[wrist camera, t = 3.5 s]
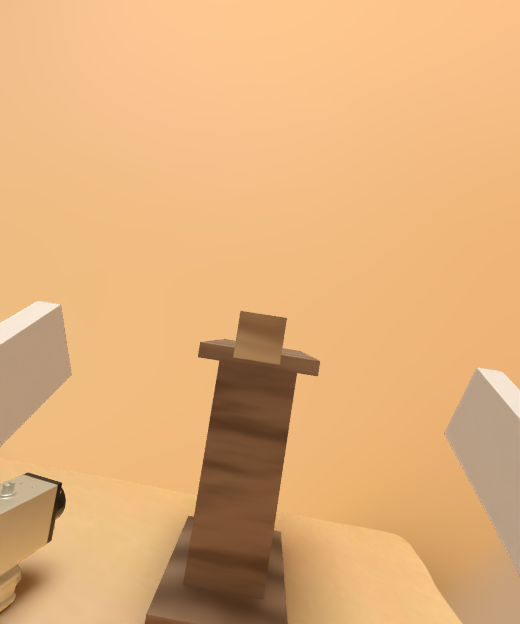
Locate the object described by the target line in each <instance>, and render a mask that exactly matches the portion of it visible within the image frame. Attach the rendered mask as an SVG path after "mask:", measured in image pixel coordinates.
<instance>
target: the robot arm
mask: <svg viewBox="0 0 520 624" xmlns="http://www.w3.org/2000/svg"><path fill="white" fill-rule="evenodd" d="M70 376H71V367H70V361H69V354H68V348H67V341H66V335H65V328H64V321H63V315H62V308H61V305H60V304H54V303H47V302H41V301H37V302H35V303H33V304H32V305H30V306H28V307H27V308H25V309H23V310H21V311H20V312H18V313H16V314H15V315H13V316H11V317H10V318H8V319H6V320H4V321H3V322H1V323H0V447H1V446H2V445H3V443H5V441H6V440H8V438H10V436H11V435H12V434H14V432H15V431H16V430H17V429H18V428H19V427H20V426H21V425H22V424H23V423H24V422H25V421H26V420H27V419H28V418H29V417H30V416H31V415H32V414H33V413H34V412H35V411H36V410H37V409H38V408H39V407H40V406H41V405H42V404H43V403H44V402H45V401H46V400H47V399H48V398H49V397H50V396H51V395H52V394H53V393H54V392H55V391H56V390H57V389H58V388H59V387H60V386H61V385H62V384H63V383H64V382H65V381H66V380H67V379H68V378H69V377H70ZM444 434H445V436H446V438H447V439H448V441H449V443H450V445H451V447H452V449H453V451H454V453H455V455H456V456H457V458H458V460H459V462H460V464H461V466H462V468H463V469H464V471H465V473H466V475H467V477H468V479H469V481H470V483H471V485H472V487H473V488H474V490H475V492H476V494H477V496H478V498H479V500H480V502H481V503H482V505H483V507H484V509H485V511H486V513H487V515H488V517H489V518H490V521H491V522H492V524H493V526H494V528H495V530H496V532H497V533H498V535H499V537H500V539H501V541H502V543H503V545H504V547H505V548H506V551H507V553H508V554H509V556H510V558H511V560H512V562H513V564H514V566H515V568H516V570H517V571H518V573H519V575H520V390H519V389H518V388H517V387H516V386H515V385H514V384H513V383H512V382H511V381H510V380H509V379H508V377H507V376H506V375H505V374H504V373H503V372H501V371H495V370H489V369H482V368H476V370H475V372H474V374H473V376H472V378H471V380H470V382H469V385H468V386H467V388H466V391H465V393H464V395H463V397H462V399H461V401H460V403H459V405H458V407H457V409H456V411H455V413H454V415H453V417H452V419H451V421H450V423H449V425H448V427H447V429H446V431H445V433H444Z"/></svg>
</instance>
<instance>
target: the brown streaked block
mask: <svg viewBox="0 0 520 624" xmlns="http://www.w3.org/2000/svg"><path fill="white" fill-rule="evenodd" d="M286 320H287V318H283V317H276V316H270V315H263V314H256V313H250V312H243V311H241V312H240V318H239V324H238V331H237V337H236V343H235V349H234V355H233V357H234V358H240V359H247V360H253V361H259V362H265V363H272V364H278V365H280V360H281V353H282V347H283V340H284V333H285V326H286Z"/></svg>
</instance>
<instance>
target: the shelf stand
mask: <svg viewBox="0 0 520 624" xmlns="http://www.w3.org/2000/svg"><path fill="white" fill-rule="evenodd" d="M235 343H236V341H233V340H227V339H223V340H214V341H206V342H200V348H199V354H198V357H201V358H207V359H214V360H219V367H218V374H217V379H216V385H215V392H214V398H213V404H212V410H211V416H210V422H209V429H208V434H207V441H206V447H205V453H204V460H203V465H202V471H201V477H200V483H199V490H198V496H197V502H196V508H195V514H194V517H192V516H188V519H187V521H186V523H185V526H184V528H183V530H182V533H181V535H180V537H179V540H178V542H177V544H176V547H175V549H174V551H173V554H172V556H171V558H170V561H169V563H168V565H167V568H166V570H165V572H164V575H163V577H162V579H161V582H160V584H159V586H158V589H157V591H156V593H155V596H154V598H153V600H152V603H151V605H150V608H149V610H148V612H147V615H146V620H145V624H287V613H286V599H285V585H284V572H283V558H282V544H281V532H279V531H274V524H275V517H276V510H277V504H278V497H279V490H280V483H281V476H282V470H283V463H284V456H285V450H286V443H287V436H288V429H289V423H290V415H291V409H292V403H293V396H294V389H295V382H296V376H297V373H301V374H307V375H313V376H318V372H319V365H320V361H319V360H317V359H315V358H313V357H311V356H309V355H307V354H305V353H303V352H301V351H296V350H290V349H283V348H282V353H281V360H280V365H278V364H272V363H265V362H259V361H253V360H247V359H240V358H234V357H233V355H234V349H235Z"/></svg>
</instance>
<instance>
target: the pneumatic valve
mask: <svg viewBox="0 0 520 624" xmlns="http://www.w3.org/2000/svg"><path fill="white" fill-rule="evenodd" d="M61 486H62V483H61V482H58V481H54V480H51V479H48V478H44V477H41V476H38V475H34V474H31V473H26V474H23V475H21V476H18V477H16V478H14V479H11V480H9V481H6V482H4V483H2V484H0V612H1V611H2V610H4V609H5V608H6V607H7V606H9V605H10V604H11V603H12V602H14V600H15V597H16V593H15V592H14V590H15V587H16V585H17V584H18V583H19V581H20V580H21V575H22V574H21V568H20V567H19V566H18V565H17V564H18V563H20V562H21V561H23V560H24V559H25V558H27V557H28V556H30V555H31V554H33V553H34V552H36V551H37V550H38V549H40V548H41V547H43V546H44V545H46V544H47V543H49V542H50V541H51V540H52V534H53V530H54V528H55V527H54V524H55V520H56V519H57V518H58V517H60V516H61V514H62V513H63V511H64V508H65V503H66V499H65V494H64V491H63V489H62V488H61Z"/></svg>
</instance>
